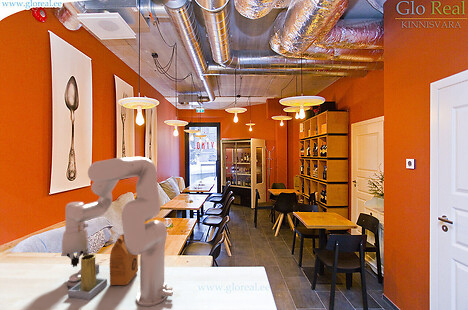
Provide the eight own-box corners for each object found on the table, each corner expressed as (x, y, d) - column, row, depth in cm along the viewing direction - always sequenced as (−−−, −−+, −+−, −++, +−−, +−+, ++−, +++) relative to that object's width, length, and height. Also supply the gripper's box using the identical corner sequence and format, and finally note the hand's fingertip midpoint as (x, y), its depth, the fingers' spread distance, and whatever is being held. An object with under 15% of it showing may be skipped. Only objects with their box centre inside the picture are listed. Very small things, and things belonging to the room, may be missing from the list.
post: (99, 272, 111) (99, 264, 110) (96, 274, 109) (96, 266, 109) (95, 272, 111) (95, 264, 111) (93, 274, 109) (92, 266, 109)
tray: (107, 285, 101) (106, 279, 101) (89, 300, 91) (89, 293, 91) (87, 282, 102) (87, 276, 102) (68, 297, 92) (68, 290, 92)
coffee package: (141, 272, 111) (141, 229, 110) (126, 288, 99) (126, 239, 98) (122, 271, 112) (122, 228, 111) (106, 286, 100) (105, 238, 99)
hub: (89, 280, 104) (89, 275, 104) (77, 289, 97) (77, 285, 97) (76, 278, 105) (76, 274, 105) (63, 287, 98) (63, 283, 98)
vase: (84, 295, 92) (84, 261, 92) (77, 290, 95) (76, 257, 95) (99, 287, 97) (99, 255, 97) (92, 283, 101) (92, 252, 100)
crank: (80, 282, 99) (80, 264, 99) (66, 283, 98) (66, 264, 98) (93, 267, 111) (93, 251, 111) (81, 268, 110) (81, 251, 110)
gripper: (93, 223, 114) (93, 258, 114) (56, 228, 106) (56, 265, 107) (93, 228, 107) (93, 265, 108) (54, 233, 100) (54, 273, 100)
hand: (75, 265), depth 107 cm, fingers closed
